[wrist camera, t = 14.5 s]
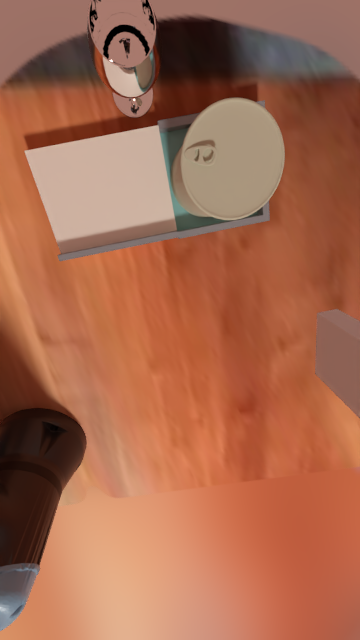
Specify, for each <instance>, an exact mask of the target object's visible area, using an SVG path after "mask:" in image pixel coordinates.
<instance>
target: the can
mask: <svg viewBox="0 0 360 640" xmlns="http://www.w3.org/2000/svg"><path fill="white" fill-rule="evenodd" d="M284 158H285V151H284V142H283V138H282V134H281V131H280V129H279V126H278V125H277V123H276V121H275V119H274V118H273V117H272V115H271V114H270V113H269V112H268V111H267V110H266V109H265V108H264V107H263V106H261V105H260V104H258V103H256V102H254V101H252V100H249V99H246V98H237V97H235V98H226V99H223V100H220V101H217V102H215V103H213V104H211V105H210V106H208V107H207V108H206V109H204V110H203V111H202V112H201V113H200V114H199V115H198V116H197V117H196V119H195V120H194V121H193V123H192V124H191V126H190V127H189V129H188V131H187V133H186V136H185V138H184V142H183V145H182V146H181V148H180V149H179V150H178V152H177V154H176V155H175V158H174V160H173V163H172V167H171V176H170V177H171V187H172V190H173V193H174V196H175V198H176V200H177V201H178V203H179V204H180V205H181V206H182V207H183V208H184V209H185V210H186V211H187V212H189V213H191V214H193V215H195V216H198V217H214V218H217V219H221V220H237V219H241V218H244V217H247V216H249V215H251V214H253V213H255V212H256V211H258V210H259V209H260V208H261V207H263V206H264V205H265V204H266V203H267V201H268V200H269V199H270V198H271V196H272V195H273V193H274V192H275V190H276V188H277V186H278V184H279V182H280V179H281V176H282V172H283V167H284Z"/></svg>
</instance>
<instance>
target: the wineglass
mask: <svg viewBox="0 0 360 640" xmlns="http://www.w3.org/2000/svg"><path fill="white" fill-rule="evenodd" d="M87 32H88V43H89V50H90V54H91V58H92V61H93V64H94V67H95V69H96V71H97V73H98V75H99V77H100V78H101V80H102V81H103V83H104V84H105V85H106V86H107V87H108V88H109V89H110V90H111V91H112V92H113V98H114V101H115V104H116V105H117V107H118V109H119V110H120V111H121V112H122V113H123V114H125V115H126V116H128V117H132V118H138V117H141V116H143V115H145V114H146V113H147V112H148V111H149V109H150V107H151V105H152V101H153V89H152V87H153V85H154V84H155V82H156V80H157V78H158V75H159V72H160V69H161V64H162V41H161V35H160V30H159V26H158V22H157V19H156V16H155V14H154V11H153V8H152V5H151V3H150V1H149V0H90V4H89V11H88V26H87Z"/></svg>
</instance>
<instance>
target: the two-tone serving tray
mask: <svg viewBox="0 0 360 640" xmlns="http://www.w3.org/2000/svg"><path fill="white" fill-rule="evenodd" d="M256 103H258V104H260V105H261V106H263V107H264V108H265V100H264V101H258V102H256ZM199 114H200V113H196V114H191V115H185V116H180V117H175V118H170V119H164V120H159V121H158V125H156V126H151V127H146V128H141V129H135V130H130V131H125V132H120V133H115V134H109V135H104V136H99V137H94V138H89V139H83V140H78V141H73V142H68V143H63V144H57V145H52V146H47V147H42V148H36V149H31V150H26V151H25V154H26V157H27V160H28V163H29V165H30V168H31V171H32V174H33V176H34V179H35V182H36V185H37V188H38V190H39V193H40V196H41V199H42V202H43V204H44V207H45V210H46V213H47V216H48V218H49V221H50V224H51V227H52V229H53V232H54V235H55V238H56V241H57V243H58V246H59V249H60V252H61V254H60V255H58V258H59V261H63V260H68V259H73V258H78V257H83V256H88V255H93V254H98V253H103V252H108V251H113V250H118V249H123V248H128V247H132V246H137V245H142V244H147V243H152V242H157V241H162V240H167V239H172V238H177V237H178V238H179V239H180V238H185V237H190V236H195V235H199V234H204V233H209V232H214V231H219V230H224V229H229V228H234V227H239V226H244V225H249V224H254V223H259V222H264V221H269V220H270V217H269V200H268V201H267V203H266V204H265V205H264V206H263V207H261V208H260V209H259V210H258V211H256V212H255V213H253V214H251V215H249V216H247V217H244V218H241V219H237V220H221V219H217V218H214V217H198V216H195V215H193V214H191V213H189V212H187V211H186V210H185V209H184V208H183V207H182V206H181V205H180V204H179V203H178V201H177V200H176V198H175V196H174V193H173V190H172V187H171V177H170V176H171V167H172V163H173V160H174V158H175V155H176V154H177V152H178V150H179V149H180V148H181V146H182V145H183V142H184V138H185V136H186V133H187V131H188V129H189V127H190V126H191V124H192V123H193V121H194V120H195V119H196V117H197V116H198V115H199Z"/></svg>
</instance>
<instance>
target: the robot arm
mask: <svg viewBox="0 0 360 640" xmlns="http://www.w3.org/2000/svg"><path fill="white" fill-rule="evenodd" d="M315 374H316V375H317V376H318V377H319V378H320V379H321V380H322V381H323V382H324V383H325V384H326V385H327V386H328V387H329V388H330V389H331V390H332V391H333V392H334V393H335V394H336V395H337V396H338V397H339V398H340V399H341V400H342V401H343V402H344V403H345V404H346V405H347V406H348V407H349V408H350V409H351V410H352V411H353V412H354V413H355V414H356V415H357V416H358V417H359V418H360V321H358V320H357V319H355V318H353V317H351V316H349V315H347V314H345V313H344V312H342V311H340V310H338V309H334V310H330V311H325V312H320V313H317V335H316V368H315ZM85 449H86V437H85V434H84V432H83V430H82V428H81V427H80V426H79V425H78V424H77V423H76V422H75V421H74V420H73V419H71V418H70V417H68V416H66V415H64V414H62V413H59V412H57V411H53V410H48V409H27V410H22V411H19V412H16V413H14V414H12V415H10V416H8V417H7V418H6V419H4V420H3V421H2V423H1V424H0V631H1V630H3V629H5V628H6V627H7V626H9V625H10V624H11V623H12V622H13V621H14V620H15V619H16V618H17V617H18V616H19V615H20V613H21V612H22V610H23V609H24V607H25V604H26V602H27V599H28V597H29V594H30V592H31V589H32V586H33V583H34V581H35V578H36V575H37V574H38V572H39V570H40V562H41V559H42V555H43V552H44V549H45V546H46V542H47V539H48V535H49V533H50V529H51V526H52V522H53V519H54V516H55V513H56V510H57V506H58V503H59V500H60V497H61V493H62V491H63V489H64V488H65V486H66V485H67V483H68V482H69V480H70V478H71V477H72V475H73V474H74V472H75V471H76V470H77V469H78V467H79V466H80V464H81V462H82V460H83V457H84V453H85Z"/></svg>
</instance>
